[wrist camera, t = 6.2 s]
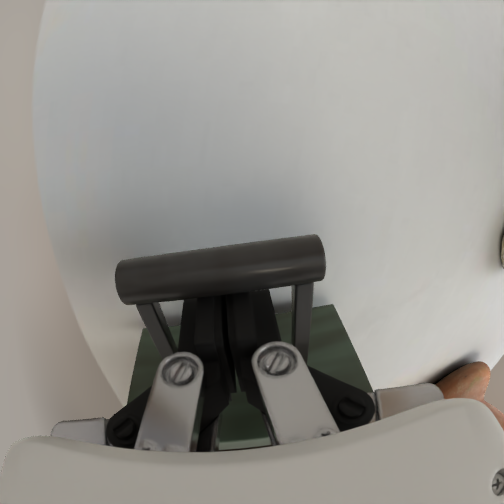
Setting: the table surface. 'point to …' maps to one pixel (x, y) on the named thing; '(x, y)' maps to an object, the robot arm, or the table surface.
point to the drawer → (230, 282)
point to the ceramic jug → (469, 385)
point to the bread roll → (502, 252)
